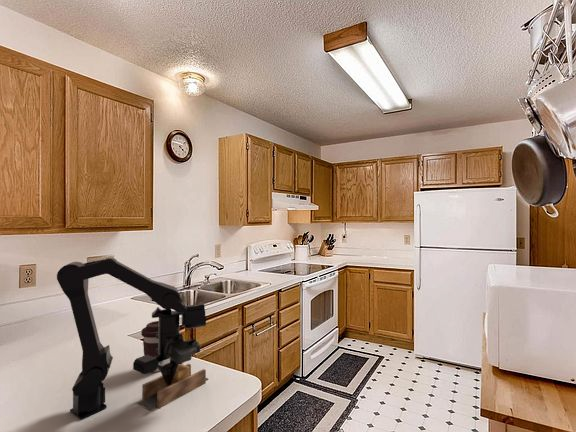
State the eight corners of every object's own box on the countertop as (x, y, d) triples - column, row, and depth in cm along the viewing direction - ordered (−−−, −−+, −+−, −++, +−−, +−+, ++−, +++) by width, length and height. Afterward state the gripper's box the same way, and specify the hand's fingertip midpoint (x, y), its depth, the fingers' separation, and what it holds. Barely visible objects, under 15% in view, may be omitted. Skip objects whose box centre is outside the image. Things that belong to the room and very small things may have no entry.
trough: (152, 411, 84) (152, 396, 84) (135, 402, 89) (135, 387, 89) (210, 380, 101) (210, 367, 101) (193, 373, 105) (193, 361, 105)
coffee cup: (163, 358, 117) (163, 317, 117) (178, 366, 111) (178, 322, 111) (136, 368, 109) (136, 324, 109) (150, 377, 103) (150, 330, 103)
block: (178, 386, 93) (178, 372, 94) (169, 382, 96) (169, 368, 96) (189, 380, 97) (189, 367, 97) (181, 376, 99) (181, 363, 99)
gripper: (156, 346, 81) (156, 409, 81) (212, 327, 96) (212, 379, 96) (132, 338, 87) (131, 396, 87) (188, 320, 103) (188, 370, 102)
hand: (168, 385), depth 93 cm, fingers closed
